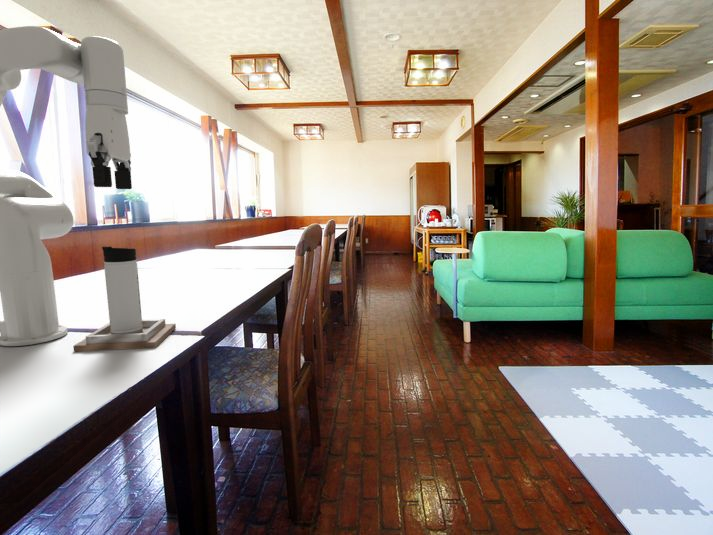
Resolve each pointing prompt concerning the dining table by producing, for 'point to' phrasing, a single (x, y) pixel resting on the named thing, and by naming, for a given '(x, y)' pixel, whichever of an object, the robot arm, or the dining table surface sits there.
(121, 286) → the travel mug
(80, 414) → the dining table surface
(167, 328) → the plate
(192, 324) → the dining table surface
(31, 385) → the dining table surface
